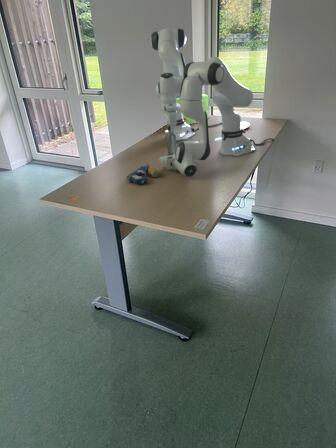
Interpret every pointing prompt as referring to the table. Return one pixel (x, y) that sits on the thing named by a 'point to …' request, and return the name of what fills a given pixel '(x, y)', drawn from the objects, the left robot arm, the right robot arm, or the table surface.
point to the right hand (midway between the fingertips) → (172, 154)
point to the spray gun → (142, 174)
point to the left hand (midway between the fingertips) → (170, 129)
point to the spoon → (244, 125)
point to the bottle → (171, 142)
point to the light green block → (204, 105)
